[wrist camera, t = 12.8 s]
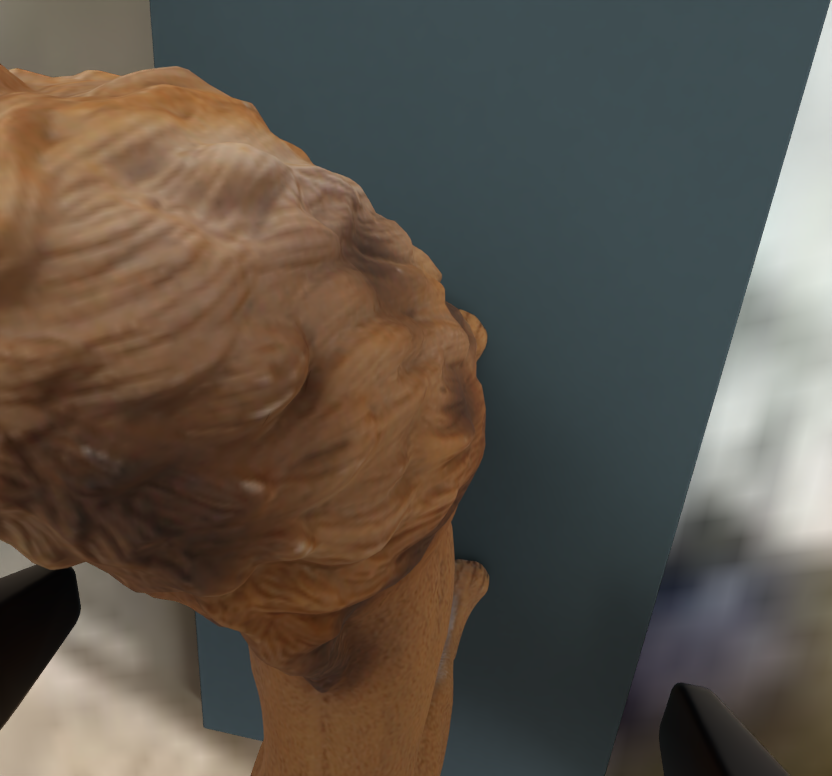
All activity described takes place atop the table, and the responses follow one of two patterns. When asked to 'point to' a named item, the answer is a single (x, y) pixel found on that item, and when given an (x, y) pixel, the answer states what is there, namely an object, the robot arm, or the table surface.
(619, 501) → the dark teal mat
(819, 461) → the table surface
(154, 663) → the table surface
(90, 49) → the table surface
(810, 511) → the table surface
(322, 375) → the lion figurine
